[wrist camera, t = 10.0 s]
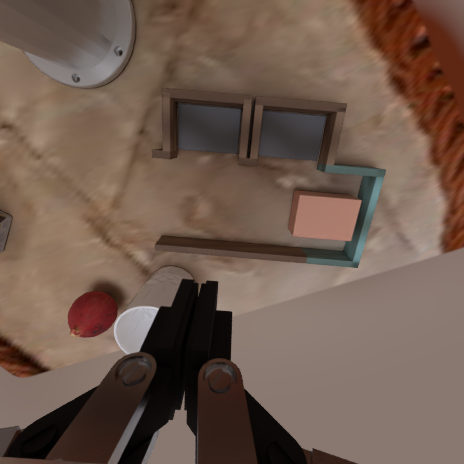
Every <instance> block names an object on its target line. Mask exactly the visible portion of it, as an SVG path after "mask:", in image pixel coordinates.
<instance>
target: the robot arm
mask: <svg viewBox="0 0 464 464" xmlns="http://www.w3.org/2000/svg"><path fill="white" fill-rule="evenodd" d="M134 40H135V17H134V9H133V5H132V1H131V0H0V41H2V42H4V43H7V44H9V45H11V46H14V47H16V48H19V49H21V50H23V52H24V53H25V54H26V56H27V57H28V58H29V59H30V61H31V62H32V63H33V64H34V65H35V66H36V67H37V68H38V69H39V70H41V71H42V72H43V73H44V74H46V75H47V76H49V77H50V78H52V79H54V80H56V81H58V82H60V83H62V84H65V85H68V86H71V87H76V88H83V89H88V88H96V87H100V86H103V85H105V84H107V83H109V82H110V81H112V80H114V79H115V78H116V77H117V76H118V75H119V74H120V73H121V72H122V70H123V69H124V67H125V66H126V64H127V62H128V60H129V58H130V55H131V53H132V50H133V45H134ZM121 52H123V53H122V55H120V53H121ZM79 79H80V81H79ZM217 294H218V281H206V284H204V283H202V284H201V288H200V292H199V296H198V283H194V280H193V279H182V280H181V283H180V285H179V288H178V290H177V293H176V295H175V298H174V300H173V303H172V305H171V307H169V306H161V307H160V308H159V310H158V312H157V314H156V316H155V318H154V320H153V323H152V325H151V327H150V329H149V331H148V333H147V335H146V338H145V340H144V342H143V344H142V346H141V348H140V351H139V352H136V353H131V354H128V355H126V356H124V357H122V358H121V359H119V360H118V361H117V362H116V363H115V364H114V366H113V367H112V368H111V370H110V371H109V372H108V374H107V375H106V376H105V378H104V379H103V380H102V382H101V383H100V385H98V386H97V387H95V388H93V389H91V390H89V391H88V392H86V393H84V394H82V395H81V396H79V397H77V398H75V399H74V400H72V401H70V402H68V403H66V404H65V405H63V406H61V407H60V408H58V409H56V410H54V411H52V412H50V413H49V414H47V415H45V416H43V417H42V418H40V419H38V420H36V421H35V422H33V423H32V424H31V425H29V426H28V427H27V428H25V429H20V427H19V426H14V427H8V428H2V429H0V464H147V462H148V459H149V457H150V455H151V452H152V450H153V447H154V445H155V442H156V440H157V437H158V433H159V429H160V428H161V427H163V426H164V425H165V424H166V423H167V422H168V420H173V417H174V413H175V410H180V409H181V405H182V400H183V396H184V391H185V408H184V409H185V410H187V425H188V426H189V428H190V429H191V431H192V432H193V433H194V435H195V436H196V440H195V464H357V463H354V462H351V461H348V460H346V459H343V458H340V457H337V456H334V455H331V454H328V453H326V452H323V451H320V450H317V449H314V448H313V449H312V451H309V450H305V449H303V448H301V447H300V445H299V444H298V443H297V441H296V440H295V439H294V438H293V437H292V436H291V435H290V434H289V433H288V432H287V431H286V430H285V429H284V428H283V427H282V426H281V425H280V424H279V423H278V422H277V421H276V420H275V419H274V418H273V417H272V416H271V415H270V414H269V413H268V412H267V411H266V410H265V409H264V408H263V407H262V406H261V405H260V404H259V403H258V402H257V401H256V400H255V399H254V398H253V397H252V396H251V395H250V394H249V393H248V392H247V391H246V390H245V389H244V385H243V379H242V375H241V372H240V369H239V368H238V367H237V366H236V364H234V363H233V362H232V361H231V334H232V312H231V311H218V310H216V308H217Z"/></svg>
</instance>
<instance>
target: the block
mask: <svg viewBox="0 0 464 464" xmlns="http://www.w3.org/2000/svg"><path fill="white" fill-rule="evenodd" d="M361 202H362V200H360V199H358V198H356V197H354V196H352V195H345V194H334V193H322V192H310V191H299V190H294V196H293V202H292V208H291V214H290V220H289V226H288V229H289V230H290V232H291V234H292V236H297V237H308V238H320V239H331V240H343V241H351V239H352V235H353V231H354V228H355V224H356V220H357V216H358V213H359V209H360V205H361Z"/></svg>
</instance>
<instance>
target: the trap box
mask: <svg viewBox="0 0 464 464" xmlns="http://www.w3.org/2000/svg"><path fill="white" fill-rule="evenodd" d="M177 102H182V103H194V104H206V105H217V106H229V107H241V108H243V117H242V129H241V140H240V152H239V163H238V165H245V166H257V158H258V156H266V157H278V158H289V159H301V160H313V161H317V159H318V154H319V149H320V143H321V138H322V133H323V128H324V123H325V118H326V116H316V115H304V114H292V113H281V112H269V111H263V109H265V110H276V111H288V112H300V113H312V114H324V115H327V120H326V125H325V130H324V135H323V140H322V145H321V150H320V156H319V161H318V166H317V170H320V171H323V172H327V173H339V174H351V175H362V176H363V178H362V182H361V186H360V190H359V194H358V199H360V200H362V202H361V205H360V209H359V213H358V216H357V220H356V224H355V228H354V231H353V235H352V239H351V241H346V243H345V247H344V251H333V250H321V249H309V248H298V247H286V246H275V245H263V244H251V243H240V242H228V241H217V240H205V239H193V238H182V237H170V236H162V237H161V238H160V239H159V240H158V241H157V243H156V244H155V250H157V251H169V252H180V253H192V254H203V255H215V256H227V257H238V258H250V259H261V260H273V261H284V262H296V263H308V264H319V265H331V266H342V267H354V268H358V265H359V262H360V258H361V255H362V251H363V248H364V244H365V241H366V238H367V234H368V231H369V227H370V224H371V220H372V217H373V214H374V210H375V207H376V203H377V200H378V196H379V193H380V190H381V186H382V183H383V179H384V176H385V172H386V170H384V169H379V168H374V167H364V166H352V165H341V164H334V162H335V157H336V153H337V148H338V144H339V139H340V134H341V130H342V125H343V121H344V116H345V111H346V107H347V104H346V103H334V102H323V101H311V100H299V99H287V98H275V97H264V96H256V98H255V103H254V113H253V123H252V133H251V143H250V153H249V157H247V146H248V136H249V125H250V115H251V105H252V95H240V94H228V93H216V92H205V91H193V90H181V89H169V88H162V132H163V149H156V150H152V158H163V159H173V158H177ZM262 113H263V116H262ZM240 115H241V109H233V108H222V107H210V106H198V105H186V104H179V115H178V149H184V150H196V151H207V152H219V153H231V154H237V151H238V139H239V127H240ZM261 122H262V125H261ZM260 131H261V134H260ZM259 140H260V143H259ZM258 149H259V152H258Z"/></svg>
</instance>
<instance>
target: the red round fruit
mask: <svg viewBox="0 0 464 464" xmlns="http://www.w3.org/2000/svg"><path fill="white" fill-rule="evenodd" d="M117 310H118V308H117V304H116V302H115V300H114V299H113V298H112V297H111V296H110V295H108V294H106V293H105V292H100V291H93V292H88V293H85V294H83V295H82V296H80V297H79V298H78V299H76V300H75V302H74V303H73V304H72V306H71V308H70V310H69V313H68V324H69V327H70V329H71V331H70V335H71V337H83V338H85V337H95V336H97V335H99V334H101V333H103V332H105V331H107V330H108V329H109V328H110V327H111V326H112V324H113V323H114V321H115V320H116V317H117Z"/></svg>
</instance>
